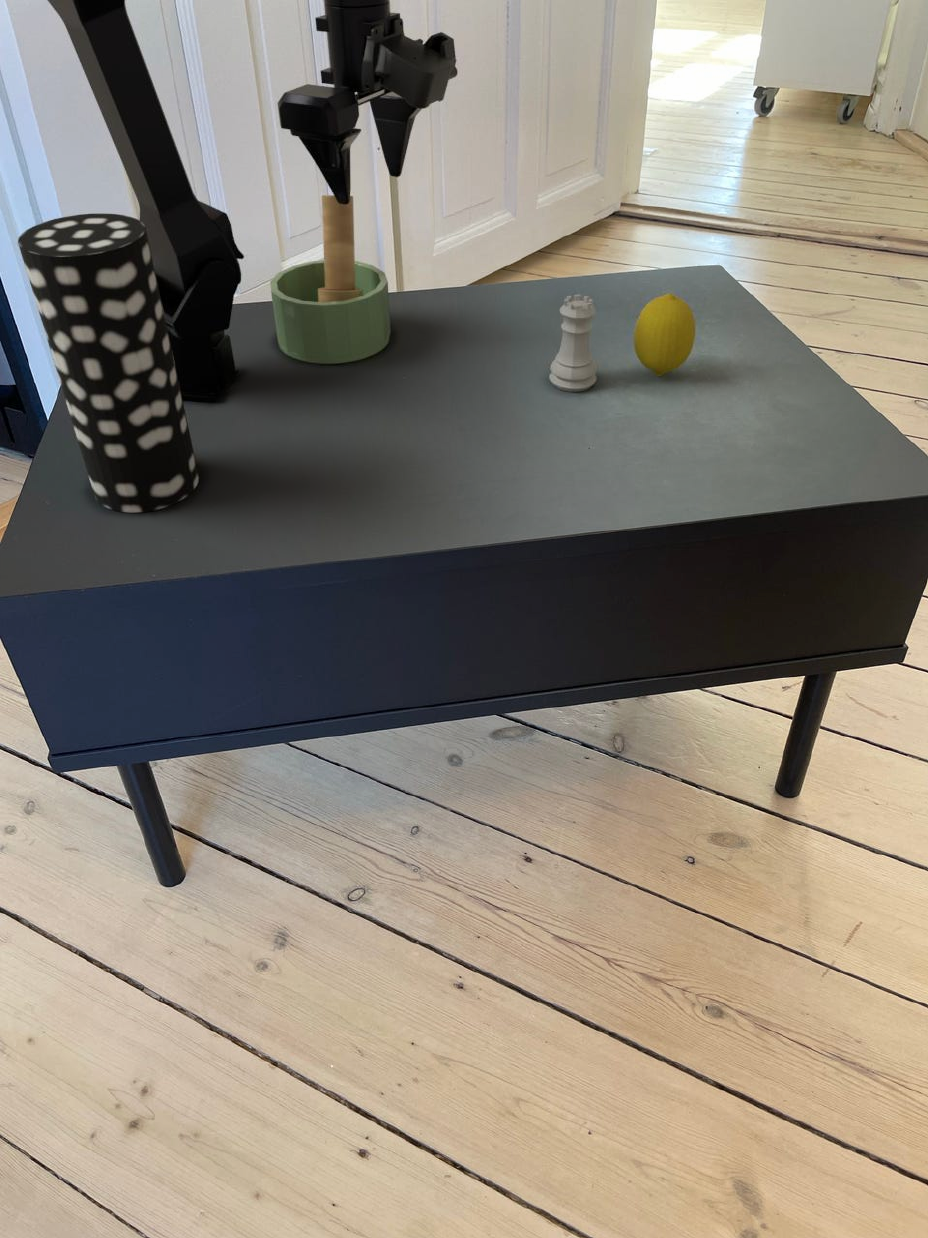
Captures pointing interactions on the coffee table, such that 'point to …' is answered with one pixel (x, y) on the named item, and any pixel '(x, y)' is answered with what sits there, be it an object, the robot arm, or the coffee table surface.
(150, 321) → the white-spotted black cylinder
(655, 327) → the lemon
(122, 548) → the coffee table surface
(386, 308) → the crock
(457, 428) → the coffee table surface
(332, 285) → the pestle
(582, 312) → the rook chess piece
